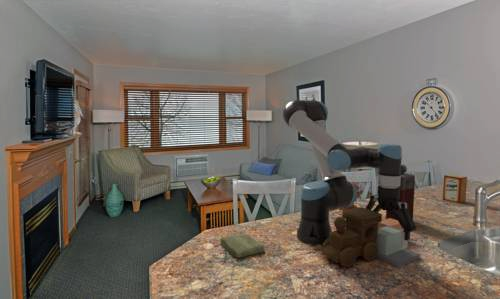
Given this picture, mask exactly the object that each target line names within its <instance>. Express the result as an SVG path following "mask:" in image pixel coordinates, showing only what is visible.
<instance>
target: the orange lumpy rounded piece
mask: <svg viewBox="0 0 500 299" xmlns="http://www.w3.org/2000/svg"><path fill="white" fill-rule="evenodd" d="M350 182H351V181H350ZM351 183H353V184H354V186H355V187H356V191H357V198H356V200H357V199H359V197H360V196H361V192H360V191H359V190H360V186H359V185H358V184H356V183H355V181H352V182H351ZM352 208H359V207H358V206H357V205H355V203H354V204H353V205H351V206H349V207H347V208H344V209H338V211H339V212H340V211H342V212H343V211H344V210H347V209H352Z"/></svg>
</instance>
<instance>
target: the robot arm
mask: <svg viewBox="0 0 500 299" xmlns="http://www.w3.org/2000/svg"><path fill="white" fill-rule="evenodd" d="M328 115H329V110H328V107H327V106H326V105H325V103H324V102H322V101H319V100H307V99H306V100H305V99H303V100H302V99H293V100H291V101H289V102H288V103H286V104H285V106H284V108H283V111H282V118H283V120H284V122H285V124H286V125H287V126H288V127H289V128H290V129H292V130H296V131H297V132H298V133H299V134H300V135H301V136H302V137H304V138H305V139H306V140H307V141H308V142H309V143H310V144H311V147H312V150H313V154H314V156H315V159H316V163H317V165H318V169H319V172H320V175H321V178H322V179H321V180H318V181H309V182H306V183H304V184H303V185H302V186H301V191H300V192H301V193H300V198H301V200H300V206H301V207H300V222H299V225H298V228H297V230H296V237H297V239H298V240H300V241H301V242H303V243H307V244H312V245H323V243H324V242H325V240H327V239H328V238H329V233H330V232H333V230H332V226H331V223H330V219H329V218H330V217H329V216H330V212H332V211H336V210H339V209H344V208H347V207H349V206H351V205H353V204H354V205H355V203H356V201H357V199H356V198H357V192H358V191H356V187H355V186H354V184H355V183H351V181H349V180H347V175H345V174H344V173H342V172H341V171H345V170H352V169H353V170H354V169H361V168H371V169H378V170H377V173H378V174H377V185H378V186H377V194H372V195H370V198H369V201H368V203H367V205H366V207H365V208H366V209H369V210H372V209H373V208H374V209H373V210H372V211H375V212H378V213H379V212H380V211H386V210H387V211H388V212H392V214H394V215H395V217H396V218H397V220H398V222H399V223H400V225H401V226H402V228H403V231H402V232H401V249H405V248H406V249H407V248H408V242H409V241H410V239H411V232H414V231H417V226H416V224H415V222H414V218H413V219H412V217H411V214H410V212H409V209H408V203H407V202H405V203H402V202H400V201H399V197H400V188H399V186H400V180H401V165H402V159H403V155H402V154H403V153H402V152H403V151H402V149H403V148H402V146H401V145H400V144H393V143H392V144H390V143H383V144H380V145H379V147H378V148H373V147H365V146H364V147H363V146H360V147H355V148H347V147H345V146H344V145H343V144H341V142H339V141H338V140H337V139H335V138H334V137H333V136H332V135H330V133H328V132H327V130H326V124H327V123H328V122H327V120H328ZM376 203H378V204H377V205H376ZM375 205H376V206H375ZM399 206H400V208H401V210H400V209H399ZM395 210H396V211H395ZM401 211H402V213H403V215H402V214H401ZM403 216H404V217H403Z"/></svg>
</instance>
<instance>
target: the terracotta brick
mask: <svg viewBox="0 0 500 299" xmlns="http://www.w3.org/2000/svg"><path fill="white" fill-rule="evenodd" d="M386 226H388V227H391V228H394V229H397V230H400V231H403V228H402V226H401V225H400V223H399V222H398V220H395V219H391V218H389V219H386V218H385V219H382V222H379V223H378V229H379V228H382V227H386Z"/></svg>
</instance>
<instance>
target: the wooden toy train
mask: <svg viewBox="0 0 500 299" xmlns="http://www.w3.org/2000/svg"><path fill="white" fill-rule="evenodd" d="M382 220H383V214H382V213H379V212H375V211H373V210H369V209H366V207H365V208H364V207H358V208H352V209H347V210H344V211H343V210H342V216H337V217H336V218H335V219H334V220H333V224H334V227H335V229H336V230H332V232H330V233H329V238H328V239H327V240H325V242H324V243H323V244H322V248H321V249H322V251H321V252H322V253H321V254H322V255H324V256H325V257H327V258H329V260H332V261H334V262H335V263H340V265H341V266H342V268H350V267H353V265H354V264H355V263H356V260H357V258H358V257H361V256H362V258H363V259H364V260H365V261H366V262H367V261H369V262H370V261H373V260H374V259H376V258H377V257H376V255H377V253H378V247H377V243H376V239H377V234H378V223H379V222H382Z"/></svg>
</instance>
